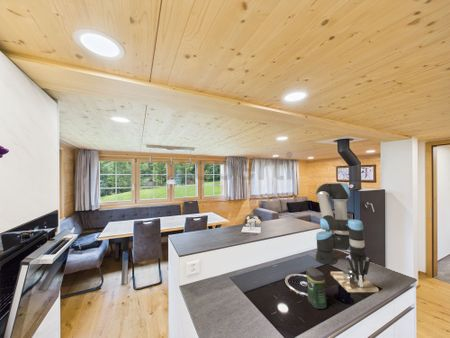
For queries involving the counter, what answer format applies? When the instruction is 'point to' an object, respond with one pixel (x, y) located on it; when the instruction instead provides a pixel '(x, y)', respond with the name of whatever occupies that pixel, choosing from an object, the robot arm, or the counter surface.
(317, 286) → the coffee jar
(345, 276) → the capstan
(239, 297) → the counter surface
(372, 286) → the stand
